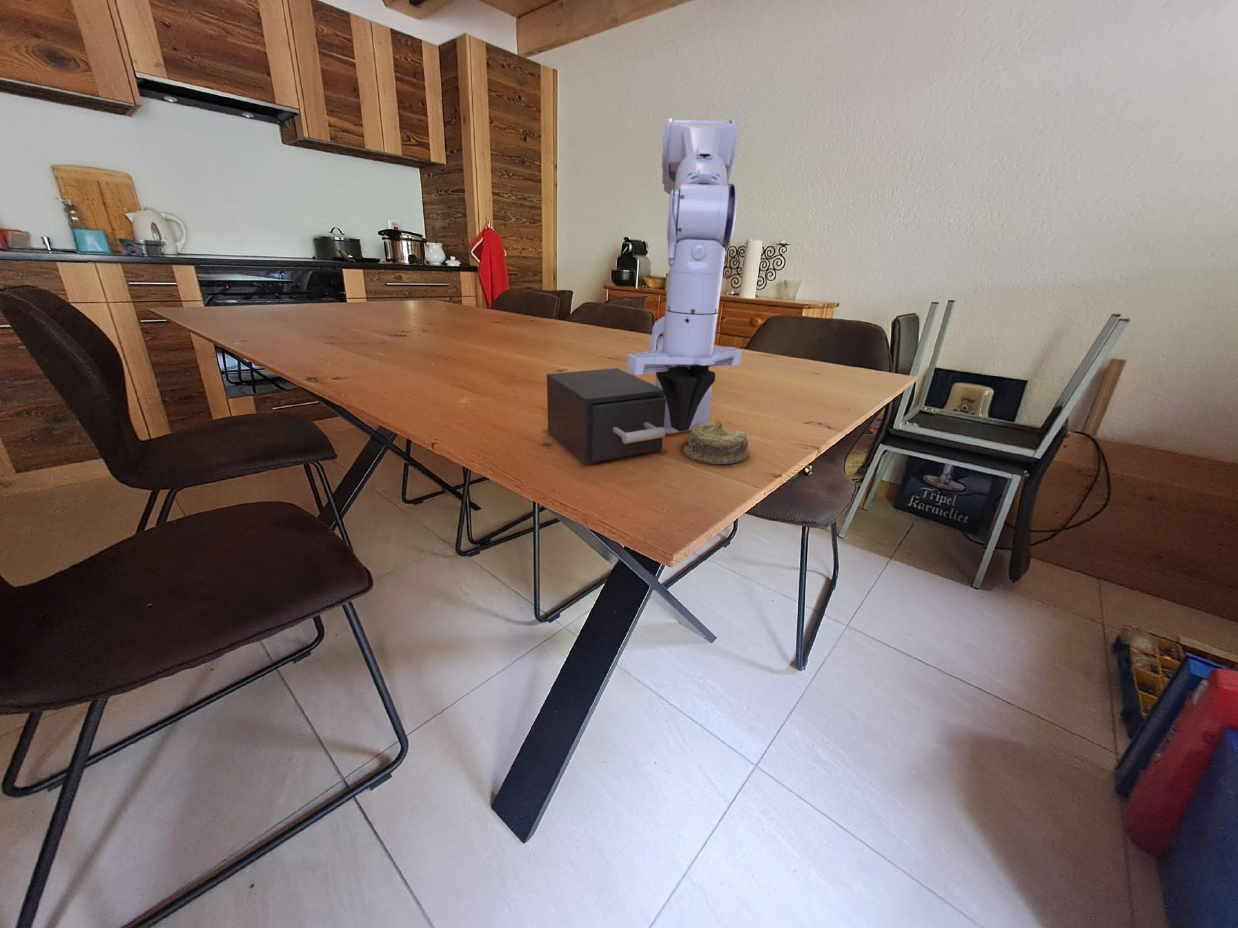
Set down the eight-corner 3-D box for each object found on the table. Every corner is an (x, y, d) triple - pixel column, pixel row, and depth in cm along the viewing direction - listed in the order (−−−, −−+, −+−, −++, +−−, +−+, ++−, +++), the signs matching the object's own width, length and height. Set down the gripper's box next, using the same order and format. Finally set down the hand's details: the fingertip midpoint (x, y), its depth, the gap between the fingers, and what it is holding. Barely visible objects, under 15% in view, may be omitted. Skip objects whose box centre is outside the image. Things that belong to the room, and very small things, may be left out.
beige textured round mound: (728, 475, 66) (731, 440, 64) (670, 456, 72) (671, 423, 69) (760, 451, 73) (764, 418, 70) (704, 435, 79) (706, 404, 76)
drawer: (678, 460, 67) (684, 407, 63) (607, 474, 62) (609, 417, 58) (618, 421, 81) (620, 376, 78) (556, 430, 76) (555, 382, 72)
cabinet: (660, 451, 72) (665, 390, 68) (585, 465, 66) (586, 399, 62) (615, 421, 83) (617, 368, 79) (547, 431, 78) (546, 373, 74)
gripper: (655, 318, 45) (646, 449, 51) (767, 314, 51) (747, 430, 57) (619, 309, 50) (615, 428, 56) (724, 306, 57) (711, 413, 63)
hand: (679, 428), depth 57 cm, fingers closed
